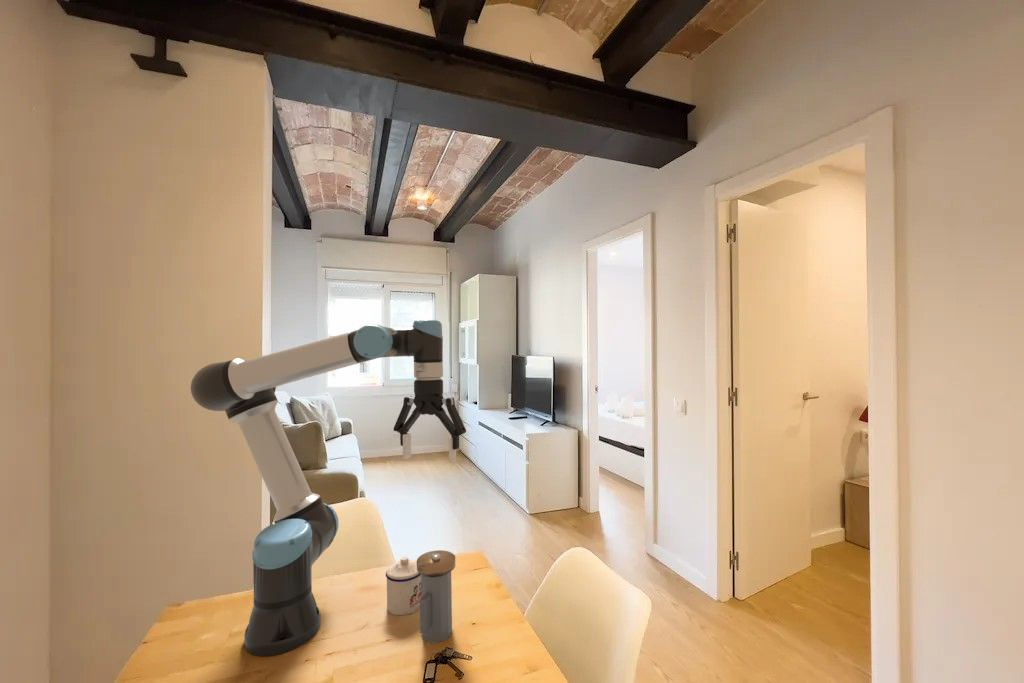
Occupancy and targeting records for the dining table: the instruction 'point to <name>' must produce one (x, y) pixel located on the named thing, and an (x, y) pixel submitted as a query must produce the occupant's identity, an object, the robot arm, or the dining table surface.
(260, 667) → the dining table surface
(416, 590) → the teacup with lid
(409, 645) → the dining table surface
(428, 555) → the plunger
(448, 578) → the cylinder
